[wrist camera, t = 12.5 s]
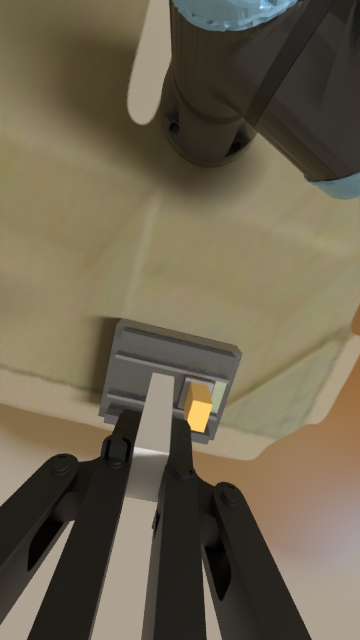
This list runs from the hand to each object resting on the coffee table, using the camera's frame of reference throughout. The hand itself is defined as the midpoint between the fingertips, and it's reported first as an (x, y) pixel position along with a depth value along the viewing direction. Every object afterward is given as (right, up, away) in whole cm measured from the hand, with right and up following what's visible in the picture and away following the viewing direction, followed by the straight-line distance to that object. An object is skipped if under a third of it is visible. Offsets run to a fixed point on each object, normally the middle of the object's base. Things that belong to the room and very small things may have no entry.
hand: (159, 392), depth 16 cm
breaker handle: (+4, -8, +26) cm, 28 cm away
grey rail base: (-1, -6, +30) cm, 31 cm away
